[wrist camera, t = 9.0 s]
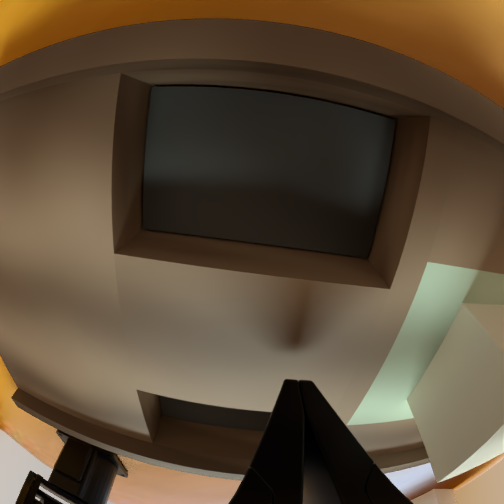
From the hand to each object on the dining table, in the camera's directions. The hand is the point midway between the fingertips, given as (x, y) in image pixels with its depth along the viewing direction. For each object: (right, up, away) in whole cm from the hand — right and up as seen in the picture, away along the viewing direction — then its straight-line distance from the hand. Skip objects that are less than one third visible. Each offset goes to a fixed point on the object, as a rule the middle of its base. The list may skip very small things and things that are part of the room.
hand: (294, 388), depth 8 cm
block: (+8, 0, +1) cm, 8 cm away
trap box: (-1, +2, +3) cm, 4 cm away
